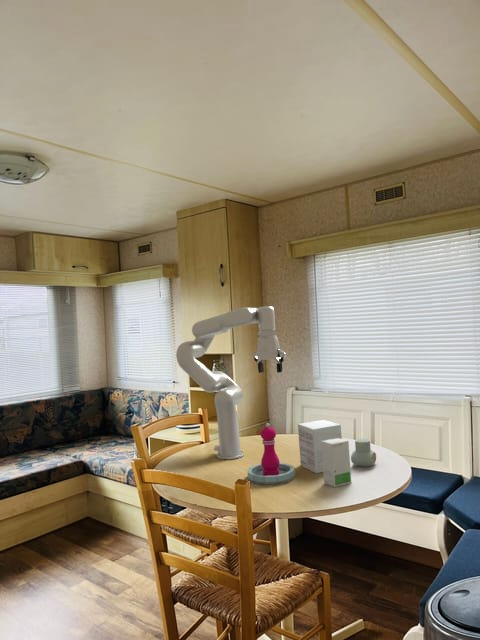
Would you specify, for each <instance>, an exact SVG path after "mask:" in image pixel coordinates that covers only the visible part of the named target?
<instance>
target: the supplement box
mask: <svg viewBox="0 0 480 640" xmlns="http://www.w3.org/2000/svg"><path fill="white" fill-rule="evenodd" d="M297 429H298V432H297V434H298V445H299V446H298V447H299V460H300V461H299V462H300V466H301V467H303V468H305V469H307V470H309V471H311V472H313V473H315V474H319V473H323V458H322V444H321V441H325V440H329V439H337V438H339V439H343V438H342V425H341V424H339V423H336V422H333V421H330V420H326V419H320V420H313V421H309V422H301V423H297Z"/></svg>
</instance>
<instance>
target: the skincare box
mask: <svg viewBox="0 0 480 640" xmlns="http://www.w3.org/2000/svg"><path fill="white" fill-rule="evenodd" d="M321 444H322V458H323V472H322V473H323V483H324V484H325V485H327V486H330V487H332V488H337V487H342V486H344V485H349V484H352V471H351V470H352V469H351V455H350V446H349V445H350V444H349V440H347V439H344V438H342V439H339V438H337V439H329V440H325V441H321Z"/></svg>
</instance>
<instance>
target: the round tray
mask: <svg viewBox="0 0 480 640" xmlns="http://www.w3.org/2000/svg"><path fill="white" fill-rule="evenodd" d="M278 469H279V475H271V476H264V475H263V470H264V468H263V467H262V465H261V463H258V464H255V465H253V466H251V467H248V469H247V478H248V481H249V483H252V484H254V485H258V486H279V485H285V484H288V483H289V482H292V481H293V480H294V479H295V475H296V474H295V466H294V465H291V464H289V463H284V462H280V465H279V466H278Z"/></svg>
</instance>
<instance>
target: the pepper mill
mask: <svg viewBox="0 0 480 640" xmlns="http://www.w3.org/2000/svg"><path fill="white" fill-rule="evenodd" d="M276 436H277V432H276V430H275V428H274V427H272V426H271V424H270V423H268V422H266V423H265V427H264V428H262V429H261V430H260V437H261V439H262V445H263V449H264V450H263V453H262V457H261V461H260V464H261V465H262V467H263V468H264V470H263V475H264V476H271V475H279V469H278V466H279V465H280V463H281V462H280V459H279V456H278V455H277V453H276V449H275V444H276V439H275V438H276Z"/></svg>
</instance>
